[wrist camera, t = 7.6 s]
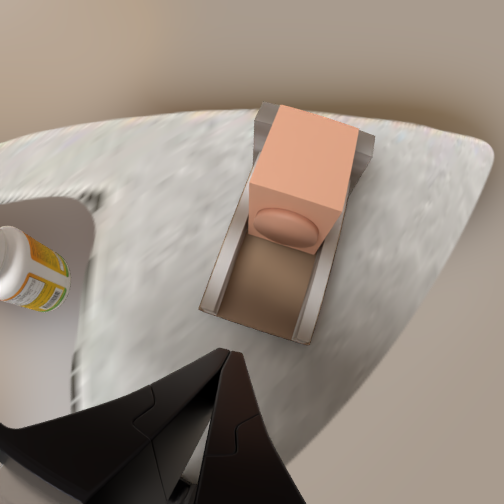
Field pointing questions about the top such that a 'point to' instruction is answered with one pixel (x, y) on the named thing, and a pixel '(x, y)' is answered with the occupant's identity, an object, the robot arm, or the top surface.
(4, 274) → the supplement bottle
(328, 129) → the peach knobbed cube
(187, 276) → the top surface
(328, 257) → the rail
